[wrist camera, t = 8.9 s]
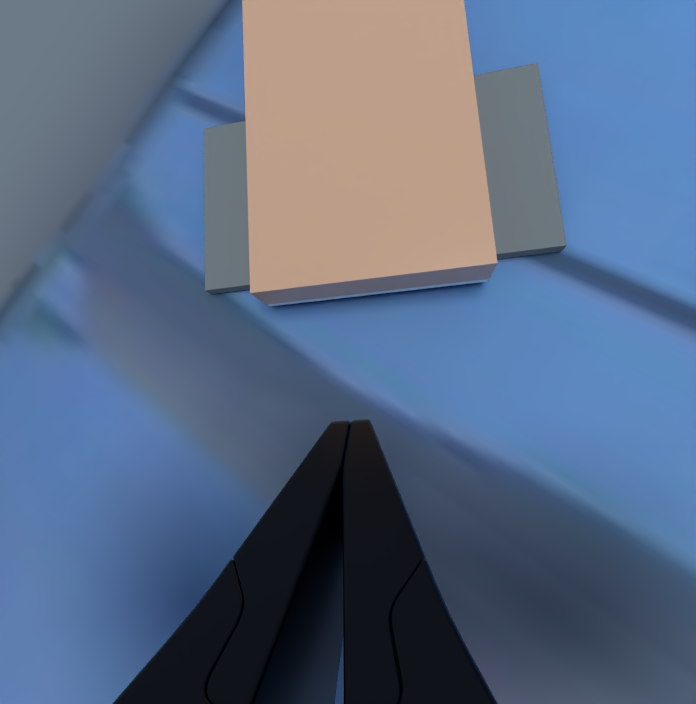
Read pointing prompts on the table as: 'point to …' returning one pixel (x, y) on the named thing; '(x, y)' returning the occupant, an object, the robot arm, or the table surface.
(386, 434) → the table surface
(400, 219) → the tile
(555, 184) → the mat
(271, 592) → the robot arm
